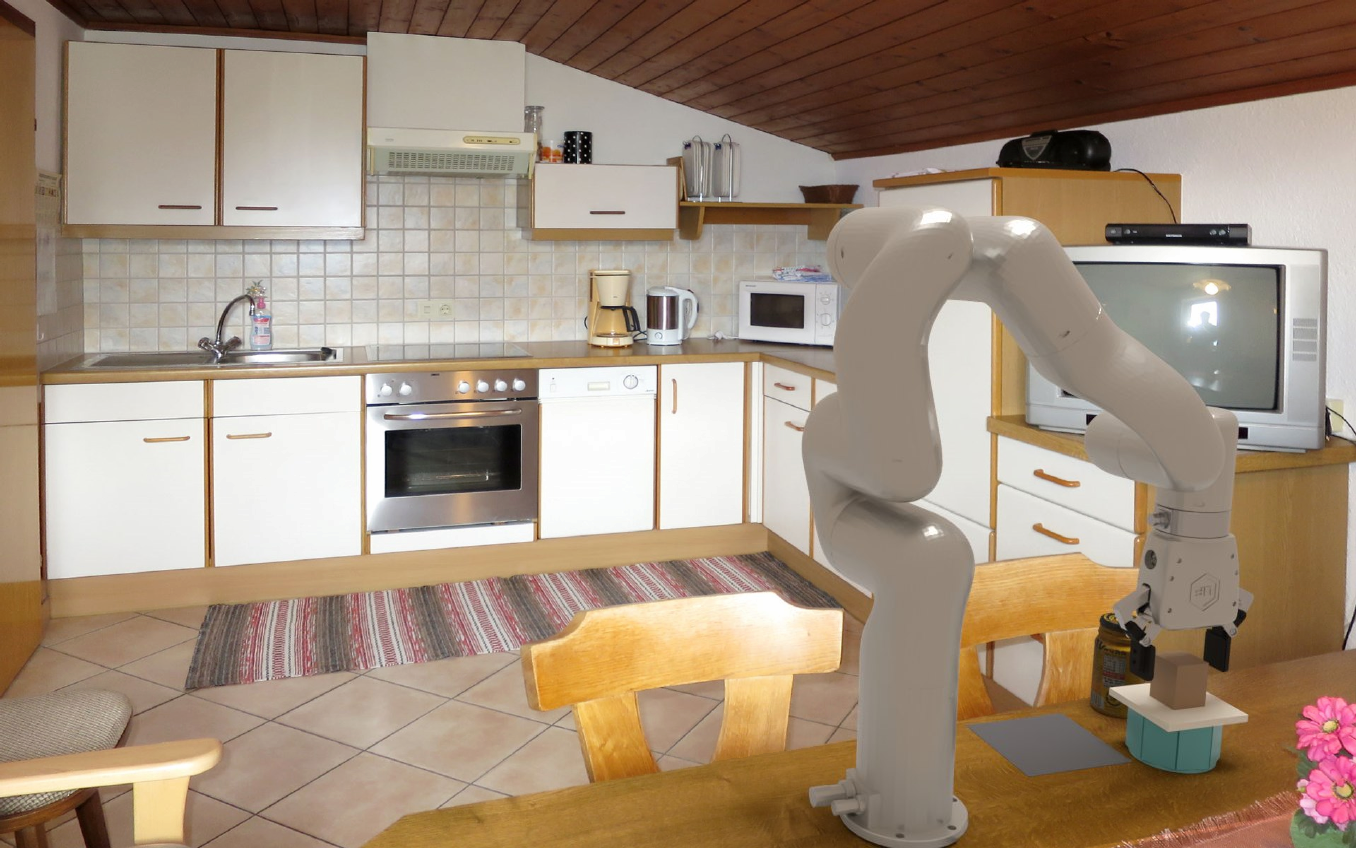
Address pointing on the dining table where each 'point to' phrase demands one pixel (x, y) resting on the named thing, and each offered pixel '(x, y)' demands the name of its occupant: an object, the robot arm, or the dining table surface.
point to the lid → (1178, 695)
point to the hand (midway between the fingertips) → (1178, 672)
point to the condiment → (1111, 667)
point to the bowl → (1173, 745)
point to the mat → (1047, 744)
